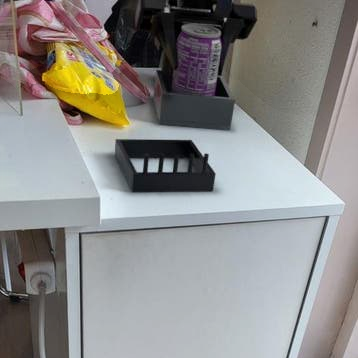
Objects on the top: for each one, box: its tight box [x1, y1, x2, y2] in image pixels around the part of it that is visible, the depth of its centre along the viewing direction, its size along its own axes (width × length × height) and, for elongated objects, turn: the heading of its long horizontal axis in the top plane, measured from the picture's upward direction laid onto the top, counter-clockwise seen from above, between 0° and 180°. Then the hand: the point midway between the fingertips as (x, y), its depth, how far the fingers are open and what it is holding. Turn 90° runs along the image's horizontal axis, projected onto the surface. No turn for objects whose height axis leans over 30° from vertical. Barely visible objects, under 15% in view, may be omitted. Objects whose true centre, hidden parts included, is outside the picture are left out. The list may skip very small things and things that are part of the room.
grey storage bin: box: [152, 69, 236, 131], centre depth 107 cm, size 12×12×5 cm
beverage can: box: [171, 24, 222, 96], centre depth 104 cm, size 7×7×12 cm
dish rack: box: [114, 138, 217, 193], centre depth 88 cm, size 11×11×5 cm
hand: (198, 69), depth 103 cm, fingers closed on beverage can, 7 cm apart
